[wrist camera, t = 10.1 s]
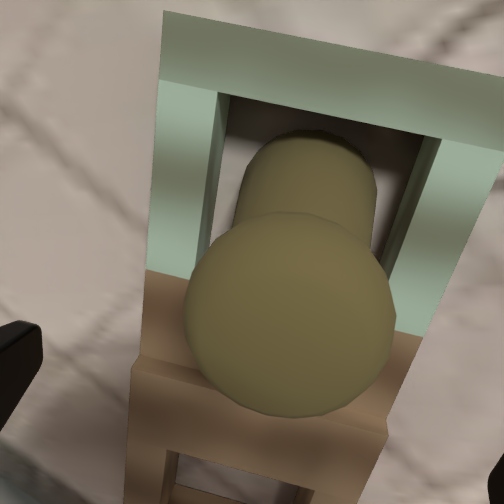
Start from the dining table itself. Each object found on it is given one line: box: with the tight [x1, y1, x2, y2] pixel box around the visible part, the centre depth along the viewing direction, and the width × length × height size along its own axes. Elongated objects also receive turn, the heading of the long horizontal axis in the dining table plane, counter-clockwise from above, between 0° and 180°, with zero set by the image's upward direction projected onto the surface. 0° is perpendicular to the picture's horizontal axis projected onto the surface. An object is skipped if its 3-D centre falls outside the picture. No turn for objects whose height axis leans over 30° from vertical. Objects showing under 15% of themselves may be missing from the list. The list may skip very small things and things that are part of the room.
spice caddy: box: [123, 10, 504, 504], centre depth 21 cm, size 30×12×4 cm, turn 170°
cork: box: [183, 130, 397, 419], centre depth 14 cm, size 6×6×11 cm
